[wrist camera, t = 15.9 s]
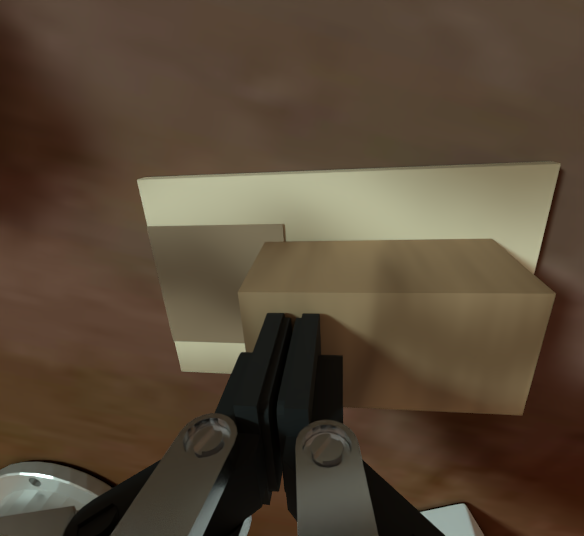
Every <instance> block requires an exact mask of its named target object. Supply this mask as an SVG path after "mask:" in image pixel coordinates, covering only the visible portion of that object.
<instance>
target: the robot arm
mask: <svg viewBox="0 0 584 536" xmlns="http://www.w3.org/2000/svg"><path fill="white" fill-rule="evenodd" d="M282 471H283V480H284V489H285V492H286V497H287V506H288V510H289V512H290V513H291V514H292V515H293V517H294V518H295V519H296V521H297V522H298V536H445V535H444V534H443V533H442V532H441V531H440V530H439V529H438V528H437V527H436V526H434V525H433V524H432V523H431V522H430V521H429V520H428V519H427V518H426V517H425V516H423V515H422V514H421V513H420V512H419V511H418V510H417V509H416V508H415V507H414V506H412V505H411V504H410V503H409V502H408V501H407V500H406V499H405V498H404V497H403V496H402V495H400V494H399V493H398V492H397V491H396V490H395V489H394V488H393V487H392V486H391V485H389V484H388V483H387V482H386V481H385V480H384V479H383V478H382V477H381V476H380V475H378V474H377V473H376V472H375V471H374V470H373V469H372V468H371V467H370V466H369V465H368V464H366V463H365V462H364V461H363V460H362V457H361V453H360V448H359V444H358V441H357V438H356V436H355V434H354V433H353V432H352V431H351V430H350V428H348V427H347V426H345V425H344V424H343V355H321V335H320V314H309V313H303V314H302V318H296V319H295V324H294V328H293V333H292V323H291V318H285V314H284V313H267V315H266V317H265V320H264V323H263V325H262V328H261V331H260V334H259V336H258V339H257V342H256V344H255V347H254V350H253V352H241V353H240V355H239V356H238V359H237V361H236V364H235V366H234V368H233V371H232V373H231V375H230V378H229V380H228V383H227V385H226V387H225V390H224V392H223V395H222V397H221V399H220V402H219V404H218V407H217V409H216V411H215V413H211V414H205V415H202V416H200V417H197V418H195V419H193V420H192V421H191V422H189V423H188V424H187V425H186V426H185V427H184V428H183V429H182V430H181V431H180V433H179V434H178V436H177V437H176V439H175V440H174V442H173V443H172V445H171V446H170V448H169V449H168V451H167V452H166V454H165V455H164V457H163V458H162V459H161V460H159V461H158V462H156V463H154V464H153V465H151V466H149V467H147V468H146V469H144V470H142V471H141V472H139V473H137V474H136V475H134V476H132V477H130V478H129V479H127V480H125V481H124V482H122V483H120V484H119V485H117V486H115V487H113V488H112V487H111V486H109V485H107V484H106V483H104V482H103V481H101V480H99V479H97V478H95V477H93V476H91V475H89V474H87V473H84V472H82V471H79V470H76V469H74V468H71V467H67V466H63V465H59V464H55V463H48V462H39V461H37V462H21V463H16V464H12V465H9V466H7V467H5V468H3V469H1V470H0V536H247V533H248V531H249V528H250V524H251V519H252V518H251V515H252V514H253V513H255V512H256V511H257V510H258V509H260V508H261V507H262V504H266V505H270V500H271V495H272V491H277V492H278V491H279V488H280V483H281V477H282Z"/></svg>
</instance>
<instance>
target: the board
mask: <svg viewBox="0 0 584 536" xmlns="http://www.w3.org/2000/svg"><path fill="white" fill-rule="evenodd" d="M560 165H561V164H560V163H556V162H552V161H548V162H522V163H497V164H471V165H446V166H420V167H395V168H369V169H344V170H319V171H293V172H268V173H242V174H217V175H191V176H166V177H144V178H141V179H138V180H137V183H138V187H139V191H140V195H141V200H142V204H143V208H144V213H145V217H146V221H147V225H148V226H147V231H148V235H149V239H150V244H151V248H152V252H153V256H154V261H155V265H156V269H157V273H158V278H159V282H160V286H161V291H162V295H163V299H164V303H165V308H166V312H167V316H168V320H169V325H170V329H171V333H172V337H173V341H175V345H176V350H177V354H178V358H179V362H180V367H181V371H184V372H207V373H230V374H231V373H232V371H233V368H234V366H235V364H236V361H237V359H238V356H239V355H240V353H241V352H246V350H245V343H244V335H243V328H242V321H241V313H240V306H239V299H238V291H239V289H240V287H241V285H242V283H243V281H244V280H245V278H246V276H247V274H248V272H249V270H250V268H251V267H252V265H253V263H254V261H255V259H256V257H257V255H258V254H259V252H260V250H261V248H262V246H263V244H264V243H265V242H284V241H354V240H424V239H493V240H494V241H495V242H497V243H498V244H499V245H500V246H501V247H502V248H504V249H505V250H506V251H507V252H508V253H509V254H511V255H512V256H513V257H514V258H515V259H516V260H518V261H519V262H520V263H521V264H522V265H523V266H524V267H526V268H527V269H528V270H529V271H530V272H531V273H533V274H534V272H535V268H536V264H537V260H538V256H539V252H540V247H541V243H542V239H543V235H544V231H545V227H546V223H547V218H548V214H549V210H550V206H551V202H552V198H553V194H554V190H555V185H556V181H557V177H558V173H559V169H560Z"/></svg>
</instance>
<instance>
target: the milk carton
mask: <svg viewBox="0 0 584 536" xmlns="http://www.w3.org/2000/svg"><path fill="white" fill-rule="evenodd" d="M420 513H421V514H422V515H423V516H425V517H426V518H427V519H428V520H429V521H430V522H431V523H432V524H433V525H434V526H436V527H437V528H438V529H439V530H440V531H441V532H442V533H443V534H444V535H445V536H484V534H483V533H482V531H481V529H480V528H479V526H478V524H477V523H476V521H475V519H474V518H473V516H472V514H471V513H470V511H469V509H468V508H467V506H466V505H465V504H456V505H451V506H446V507H442V508H437V509H432V510H428V511H423V512H420Z"/></svg>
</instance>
